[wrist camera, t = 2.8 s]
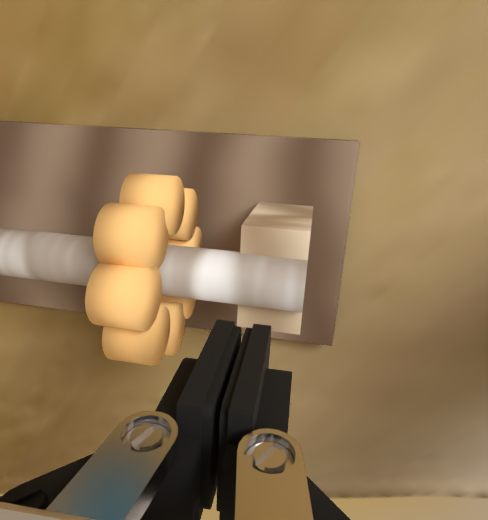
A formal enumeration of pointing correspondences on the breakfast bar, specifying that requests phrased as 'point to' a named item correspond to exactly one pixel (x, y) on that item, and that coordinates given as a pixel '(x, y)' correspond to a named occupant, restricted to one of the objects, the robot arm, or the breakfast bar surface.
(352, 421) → the breakfast bar surface
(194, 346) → the breakfast bar surface
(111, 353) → the tan lobed rosette
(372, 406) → the breakfast bar surface
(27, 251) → the pipe stand
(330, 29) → the breakfast bar surface
